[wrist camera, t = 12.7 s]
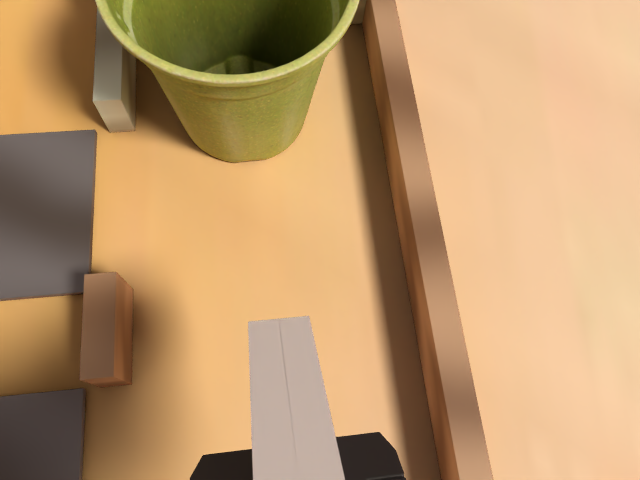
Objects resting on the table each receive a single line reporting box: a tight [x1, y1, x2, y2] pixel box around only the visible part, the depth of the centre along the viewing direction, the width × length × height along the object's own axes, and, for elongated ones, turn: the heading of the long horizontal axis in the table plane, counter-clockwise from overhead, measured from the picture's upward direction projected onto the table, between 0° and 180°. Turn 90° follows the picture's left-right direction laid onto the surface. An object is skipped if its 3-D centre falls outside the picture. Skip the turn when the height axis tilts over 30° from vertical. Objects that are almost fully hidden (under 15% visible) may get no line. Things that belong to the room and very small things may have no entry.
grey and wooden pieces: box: [0, 0, 493, 480], centre depth 22 cm, size 29×22×4 cm
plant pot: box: [95, 0, 360, 162], centre depth 23 cm, size 9×9×9 cm
